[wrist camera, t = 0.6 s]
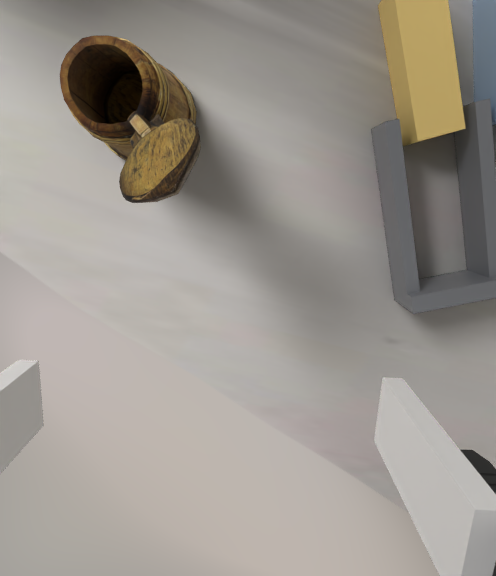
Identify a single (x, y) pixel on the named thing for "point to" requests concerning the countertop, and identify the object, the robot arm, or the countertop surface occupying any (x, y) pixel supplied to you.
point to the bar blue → (485, 52)
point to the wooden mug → (133, 114)
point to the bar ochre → (422, 68)
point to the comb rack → (474, 207)
